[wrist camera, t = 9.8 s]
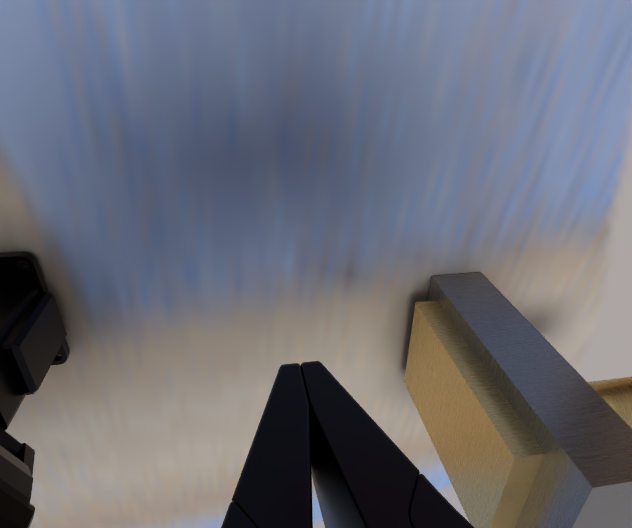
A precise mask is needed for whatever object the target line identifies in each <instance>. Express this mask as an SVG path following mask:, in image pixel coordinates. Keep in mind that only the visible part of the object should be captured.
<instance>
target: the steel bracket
mask: <svg viewBox="0 0 632 528" xmlns="http://www.w3.org/2000/svg"><path fill="white" fill-rule="evenodd" d="M435 300H436V301H437V302H438V304H439V305H440V307H441V308H442V309H443V311H444V312H445V314H446V315H447V316H448V318H449V319H450V321H451V322H452V323H453V325H454V326H455V328H456V329H457V331H458V332H459V333H460V335H461V336H462V338H463V339H464V340H465V342H466V343H467V345H468V346H469V347H470V349H471V350H472V352H473V353H474V354H475V356H476V357H477V359H478V360H479V361H480V363H481V364H482V366H483V367H484V368H485V370H486V371H487V373H488V374H489V376H490V377H491V378H492V380H493V381H494V383H495V384H496V385H497V387H498V388H499V390H500V391H501V392H502V394H503V395H504V397H505V398H506V399H507V401H508V402H509V404H510V405H511V406H512V408H513V409H514V411H515V412H516V413H517V415H518V416H519V418H520V419H521V420H522V422H523V423H524V425H525V426H526V428H527V429H528V430H529V432H530V433H531V435H532V436H533V437H534V439H535V440H536V442H537V443H538V444H539V446H540V447H541V449H542V450H543V451H544V453H545V456H544V458H543V461H542V463H541V466H540V468H539V470H538V473H537V475H536V478H535V480H534V483H533V485H532V488H531V490H530V493H529V495H528V497H527V500H526V502H525V505H524V507H523V510H522V512H521V515H520V517H519V520H518V522H517V525H516V527H515V528H632V428H631V427H630V426H629V425H628V424H627V423H626V422H625V421H624V420H623V419H622V418H621V417H620V416H619V415H618V414H617V413H616V412H615V411H614V410H613V409H612V408H611V406H610V405H609V404H608V403H607V402H606V401H605V400H604V399H603V398H602V397H601V396H600V395H599V394H598V393H597V392H596V391H595V390H594V389H593V388H592V387H591V386H590V385H589V384H588V383H587V382H586V381H585V380H584V379H583V377H582V376H581V375H580V374H579V373H578V372H577V371H576V370H575V369H574V368H573V367H572V366H571V365H570V364H569V363H568V362H567V361H566V360H565V359H564V358H563V357H562V356H561V355H560V354H559V353H558V352H557V351H556V350H555V348H554V347H553V346H552V345H551V344H550V343H549V342H548V341H547V340H546V339H545V338H544V337H543V336H542V335H541V334H540V333H539V332H538V331H537V330H536V329H535V328H534V327H533V326H532V325H531V324H530V323H529V322H528V320H527V319H526V318H525V317H524V316H523V315H522V314H521V313H520V312H519V311H518V310H517V309H516V308H515V307H514V306H513V305H512V304H511V303H510V302H509V301H508V300H507V299H506V298H505V297H504V296H503V295H502V294H501V293H500V291H499V290H498V289H497V288H496V287H495V286H494V285H493V284H492V283H491V282H490V281H489V280H488V279H487V278H486V277H485V276H484V275H483V274H482V273H481V272H475V273H462V274H450V275H438V276H432V277H431V283H430V289H429V295H428V301H435Z"/></svg>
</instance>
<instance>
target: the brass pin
mask: <svg viewBox="0 0 632 528" xmlns="http://www.w3.org/2000/svg"><path fill="white" fill-rule="evenodd" d="M404 382H405V385H406V387H407V389H408V391H409V393H410V395H411V397H412V400H413V402H414V404H415V406H416V408H417V410H418V413H419V415H420V417H421V419H422V421H423V423H424V425H425V428H426V430H427V432H428V434H429V436H430V438H431V440H432V443H433V445H434V447H435V449H436V451H437V453H438V455H439V458H440V460H441V462H442V464H443V466H444V468H445V471H446V473H447V475H448V477H449V479H450V481H451V483H452V486H453V488H454V490H455V492H456V494H457V496H458V498H459V500H460V503H461V505H462V507H463V509H464V511H465V513H466V516H467V517H468V520H469V522H470V524H471V525H473V526H474V527H475V528H515V527H516V525H517V522H518V520H519V517H520V515H521V512H522V510H523V507H524V505H525V502H526V500H527V497H528V495H529V493H530V490H531V488H532V485H533V483H534V480H535V478H536V475H537V473H538V470H539V468H540V466H541V463H542V461H543V458H544V456H545V453H544V451H543V450H542V449H541V447H540V446H539V444H538V443H537V442H536V440H535V439H534V437H533V436H532V435H531V433H530V432H529V430H528V429H527V428H526V426H525V425H524V423H523V422H522V420H521V419H520V418H519V416H518V415H517V413H516V412H515V411H514V409H513V408H512V406H511V405H510V404H509V402H508V401H507V399H506V398H505V397H504V395H503V394H502V392H501V391H500V390H499V388H498V387H497V385H496V384H495V383H494V381H493V380H492V378H491V377H490V376H489V374H488V373H487V371H486V370H485V368H484V367H483V366H482V364H481V363H480V361H479V360H478V359H477V357H476V356H475V354H474V353H473V352H472V350H471V349H470V347H469V346H468V345H467V343H466V342H465V340H464V339H463V338H462V336H461V335H460V333H459V332H458V331H457V329H456V328H455V326H454V325H453V323H452V322H451V321H450V319H449V318H448V316H447V315H446V314H445V312H444V311H443V309H442V308H441V307H440V305H439V304H438V302H437V301H436V300H435V301H424V302H416V303H415V310H414V317H413V324H412V331H411V338H410V345H409V351H408V358H407V365H406V372H405V379H404ZM587 383H588V384H589V385H590V386H591V387H592V388H593V389H594V390H595V391H596V392H597V393H598V394H599V395H600V396H601V397H602V398H603V399H604V400H605V401H606V402H607V403H608V404H609V405H610V406H611V408H612V409H613V410H614V411H615V412H616V413H617V414H618V415H619V416H620V417H621V418H622V419H623V420H624V421H625V422H626V423H627V424H628V425H629V426H630V427H631V428H632V377H626V378H618V379H610V380H602V381H594V382H587Z"/></svg>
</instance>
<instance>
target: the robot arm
mask: <svg viewBox="0 0 632 528" xmlns="http://www.w3.org/2000/svg"><path fill="white" fill-rule="evenodd" d="M20 261H24V262H26V263H27V264H28V266H24V265H22V264H21V263H20ZM66 335H67V333H66V330H65V327H64V324H63V321H62V318H61V315H60V313H59V310H58V307H57V304H56V301H55V298H54V296H53V295H52V294H51V293H50V292H48V289H47V287H46V284H45V281H44V278H43V275H42V272H41V269H40V267H39V264H38V261H37V259H36V258H35V257H34V256H33V255H32V254H30V253H27V252H14V253H0V528H29V527H30V524H31V522H32V520H33V517H34V512H35V507H34V506H33V505H32V504H30V499H31V491H32V483H33V477H32V474H33V464H34V454H35V451H34V450H33V449H32V448H31V447H30V446H28V445H27V444H26V443H23V444H21V443H20V442H18V441H17V440H16V439H15V438H13V437H12V436H11V435H9V434H8V433H7V432H5V430H6V429H7V428H8V426H9V424H10V422H11V421H12V419H13V417H14V415H15V413H16V412H17V410H18V408H19V406H20V404H21V403H22V401H23V399H24V397H25V395H31V394H34V393H35V392H36V391H37V390H38V389H39V387H40V385H41V383H42V381H43V379H44V377H45V375H46V373H47V371H48V370H49V368H50V366H51V365H59V364H63V363H64V362H66V360H67V358H68V356H69V349H68V346H67V343H66V341H65V337H66ZM56 354H60V355H61V356H57V355H56ZM311 473H312V476H311ZM419 473H420V472H419V470H418V469H417V468H416V467H415V466H414V464H413V463H412V462H411V461H410V460H409V459H408V458H407V457H406V456H405V455H404V453H403V452H402V451H401V450H400V449H399V448H398V447H397V446H396V445H395V444H394V442H393V441H392V440H391V439H390V438H389V437H388V436H387V435H386V434H385V433H384V431H383V430H382V429H381V428H380V427H379V426H378V425H377V424H376V423H375V422H374V420H373V419H372V418H371V417H370V416H369V415H368V414H367V413H366V412H365V411H364V410H363V408H362V407H361V406H360V405H359V404H358V403H357V402H356V401H355V400H354V399H353V397H352V396H351V395H350V394H349V393H348V392H347V391H346V390H345V389H344V388H343V386H342V385H341V384H340V383H339V382H338V381H337V380H336V379H335V378H334V377H333V375H332V374H331V373H330V372H329V371H328V370H327V369H326V368H325V367H324V366H323V364H322V363H321V362H319V361H313V362H303V363H302V364H301V365H299V364H298V363H293V364H284V365H281V367H280V368H279V371H278V374H277V377H276V379H275V382H274V385H273V388H272V390H271V393H270V396H269V399H268V401H267V404H266V407H265V410H264V412H263V415H262V418H261V421H260V423H259V426H258V429H257V432H256V434H255V437H254V440H253V443H252V445H251V448H250V451H249V454H248V456H247V459H246V462H245V465H244V467H243V470H242V473H241V476H240V478H239V481H238V484H237V487H236V489H235V492H234V495H233V498H232V502H231V503H230V505H229V508H228V511H227V513H226V516H225V519H224V522H223V524H222V527H221V528H313V523H312V478H313V482H314V486H315V490H316V493H317V497H318V501H319V505H320V509H321V513H322V517H323V521H324V524H325V528H475V527H474V526H473V525H471V524H470V523H469V522H468V521H467V520H466V519H465V518H464V517H463V516H462V515H461V514H459V512H458V511H456V509H455V508H454V507H453V506H452V505H451V504H450V503H449V502H448V501H447V500H446V499H445V498H444V497H443V496H442V495H441V494H440V493H439V492H438V491H437V490H436V489H435V487H434V486H433V485H432V484H431V483H430V482H429V481H428V480H427V479H426V477H425V476H424V475H423V474H420V475H419Z"/></svg>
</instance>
